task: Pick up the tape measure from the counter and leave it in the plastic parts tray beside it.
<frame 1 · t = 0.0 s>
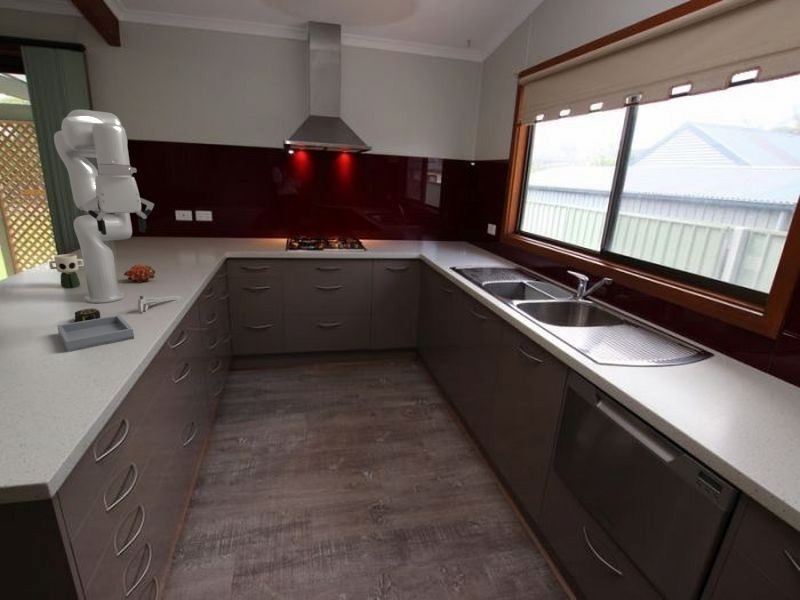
hand: (123, 233, 121), 31 cm above the table, fingers open, 9 cm apart
character mug: (71, 287, 172), on the table
dragon fruit: (141, 282, 185), on the table
tape measure: (86, 323, 137), on the table
parts tray: (96, 336, 126), on the table
caliper: (161, 306, 157), on the table
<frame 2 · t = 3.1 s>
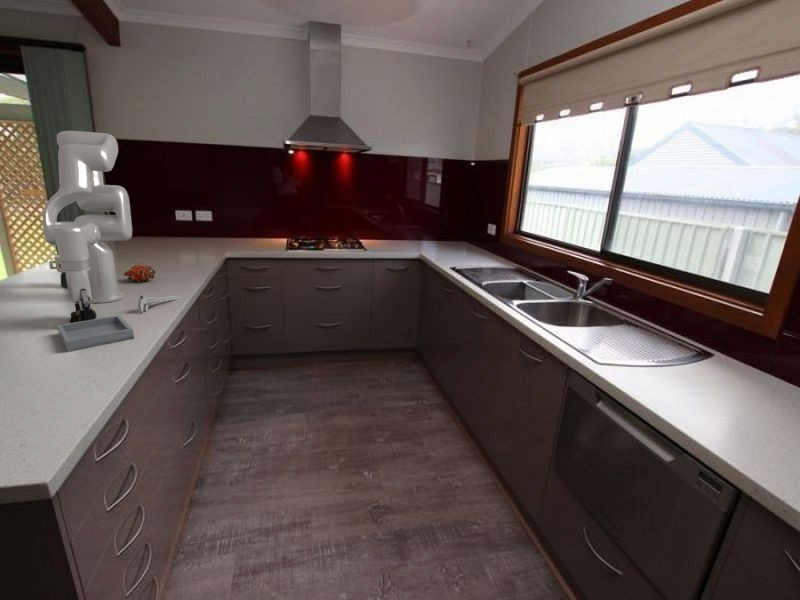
hand: (85, 317, 136), 2 cm above the table, fingers open, 7 cm apart
tape measure: (81, 323, 136), on the table, touching gripper
everything else where it was.
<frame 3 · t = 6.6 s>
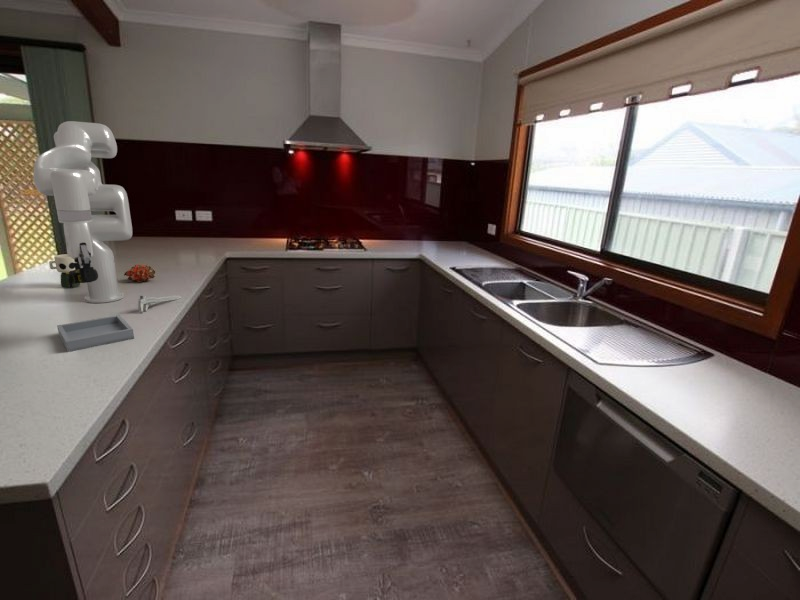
hand: (85, 278, 121), 18 cm above the table, fingers closed on tape measure, 7 cm apart
tape measure: (81, 283, 121), point 17 cm above the table, touching gripper
everything else where it was.
when the fingers open (4 cm above the table, at t = 9.8 s): tape measure drops 2 cm, resting on parts tray.
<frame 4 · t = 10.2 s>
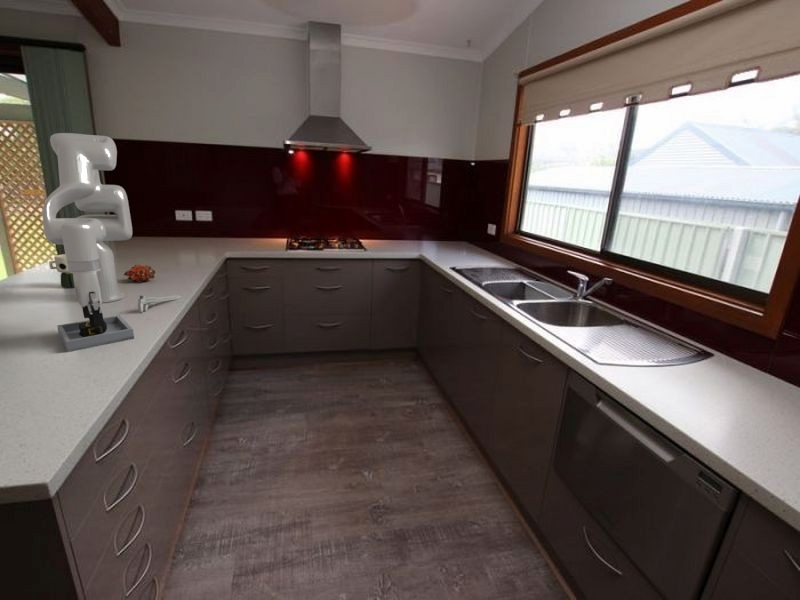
hand: (94, 321, 125), 5 cm above the table, fingers open, 9 cm apart
tape measure: (91, 335, 125), point 1 cm above the table, touching parts tray
everything else where it was.
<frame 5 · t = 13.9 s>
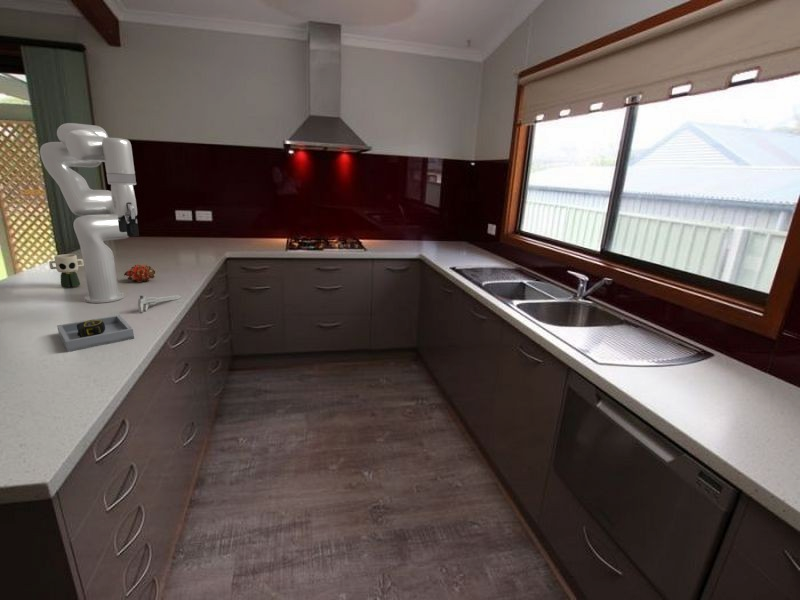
hand: (129, 233, 137), 28 cm above the table, fingers open, 9 cm apart
nothing on the table moved.
at the end: tape measure inside the target area on the parts tray (1.7 cm from its centre), point 0.6 cm above the parts tray's base; the gripper is holding nothing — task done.
